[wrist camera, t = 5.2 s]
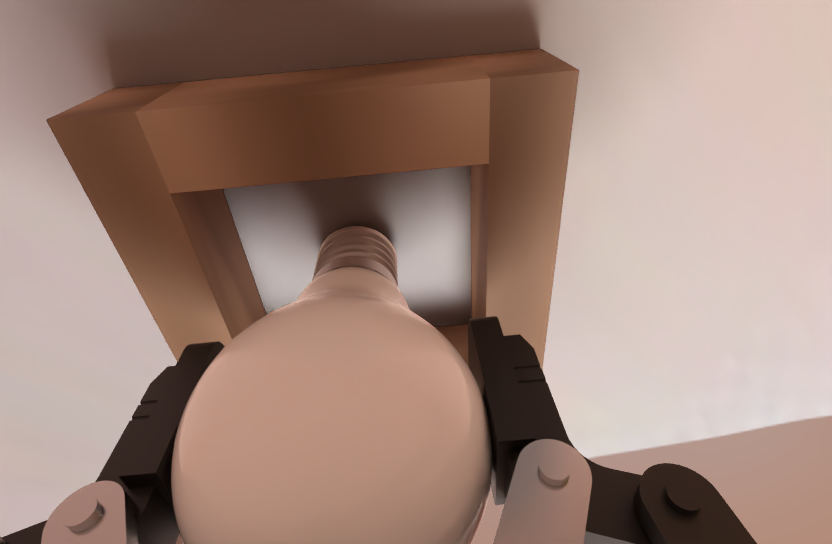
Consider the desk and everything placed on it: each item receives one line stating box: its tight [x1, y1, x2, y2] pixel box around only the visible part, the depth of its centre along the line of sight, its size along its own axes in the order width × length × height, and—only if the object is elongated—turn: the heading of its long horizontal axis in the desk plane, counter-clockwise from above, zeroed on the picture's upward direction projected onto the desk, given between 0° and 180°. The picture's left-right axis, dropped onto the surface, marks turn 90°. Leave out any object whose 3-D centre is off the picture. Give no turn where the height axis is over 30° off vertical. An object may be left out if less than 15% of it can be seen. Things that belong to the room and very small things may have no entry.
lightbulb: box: [171, 226, 493, 544], centre depth 11 cm, size 6×6×11 cm
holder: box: [46, 49, 579, 368], centre depth 15 cm, size 12×12×3 cm
